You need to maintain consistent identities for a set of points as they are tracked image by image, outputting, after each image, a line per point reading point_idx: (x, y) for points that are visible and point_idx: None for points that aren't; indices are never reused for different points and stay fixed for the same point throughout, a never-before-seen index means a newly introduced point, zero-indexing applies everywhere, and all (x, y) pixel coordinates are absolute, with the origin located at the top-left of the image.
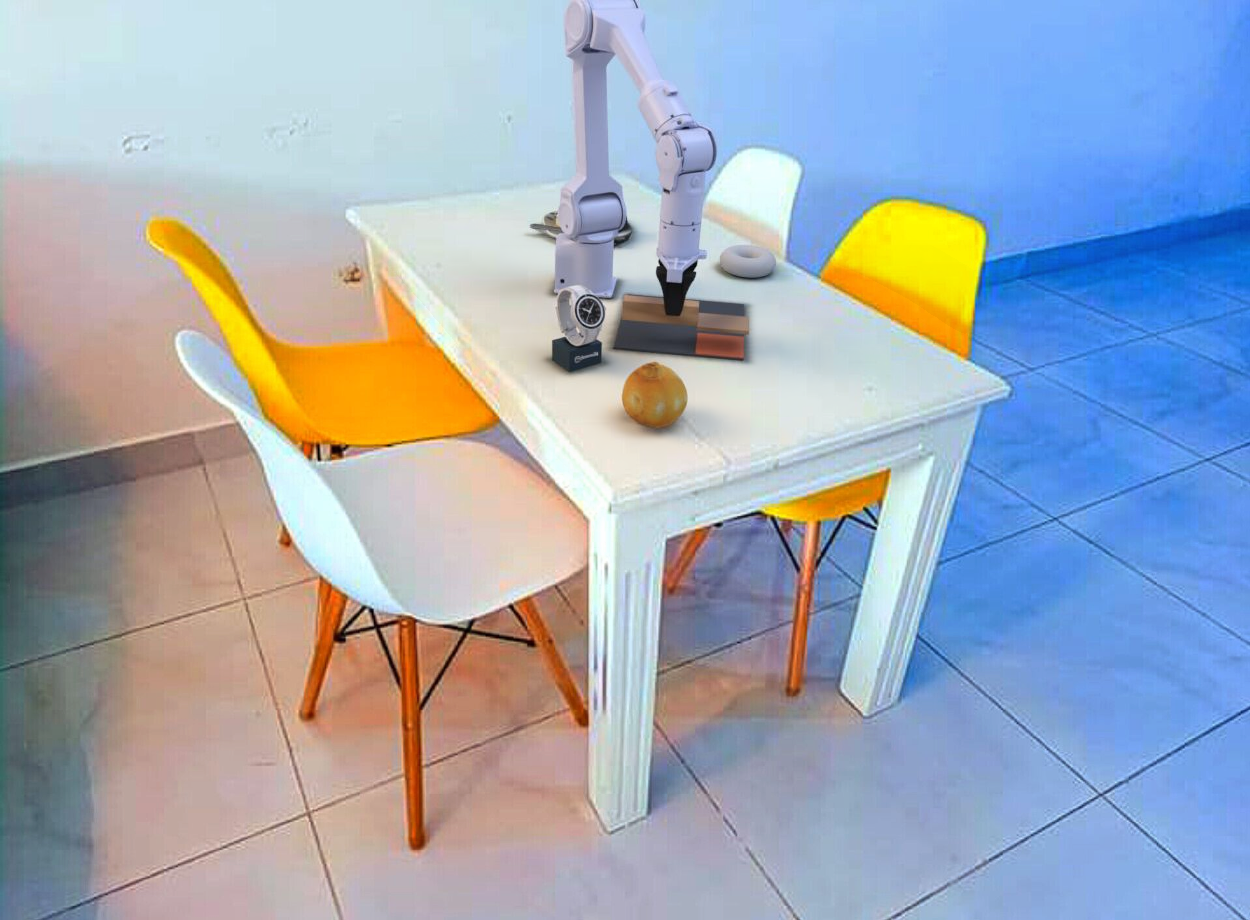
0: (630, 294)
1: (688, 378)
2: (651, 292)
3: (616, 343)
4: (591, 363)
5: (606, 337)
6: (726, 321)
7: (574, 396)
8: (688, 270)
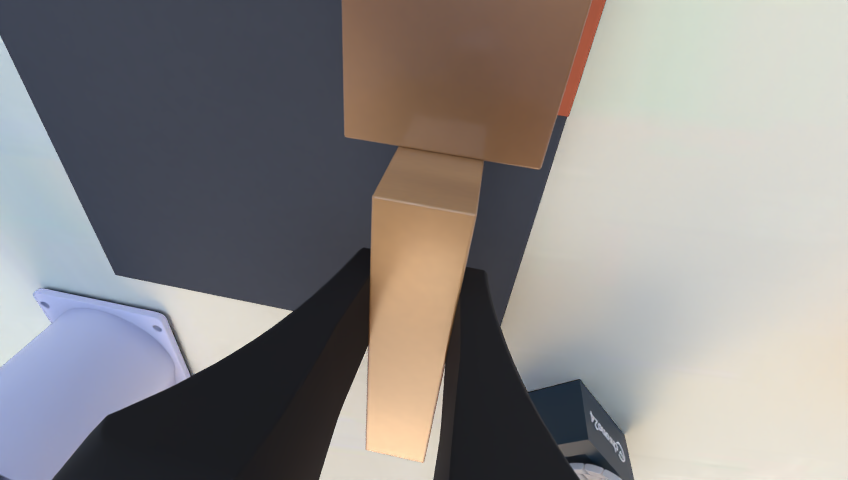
0: (113, 269)
1: (782, 163)
2: (48, 205)
3: None
4: (596, 404)
5: None
6: None
7: (767, 444)
8: (276, 453)
